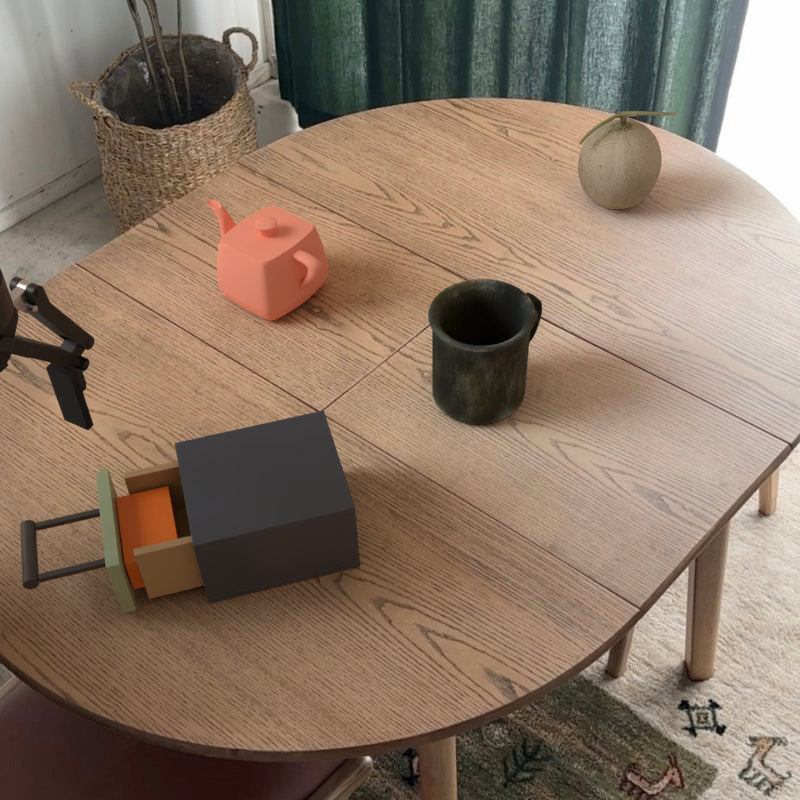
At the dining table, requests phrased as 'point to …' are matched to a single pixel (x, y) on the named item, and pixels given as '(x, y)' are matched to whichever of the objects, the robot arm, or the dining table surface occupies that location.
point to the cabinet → (267, 506)
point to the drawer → (157, 563)
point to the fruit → (620, 161)
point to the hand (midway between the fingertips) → (26, 475)
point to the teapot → (269, 260)
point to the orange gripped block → (145, 525)
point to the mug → (481, 348)
